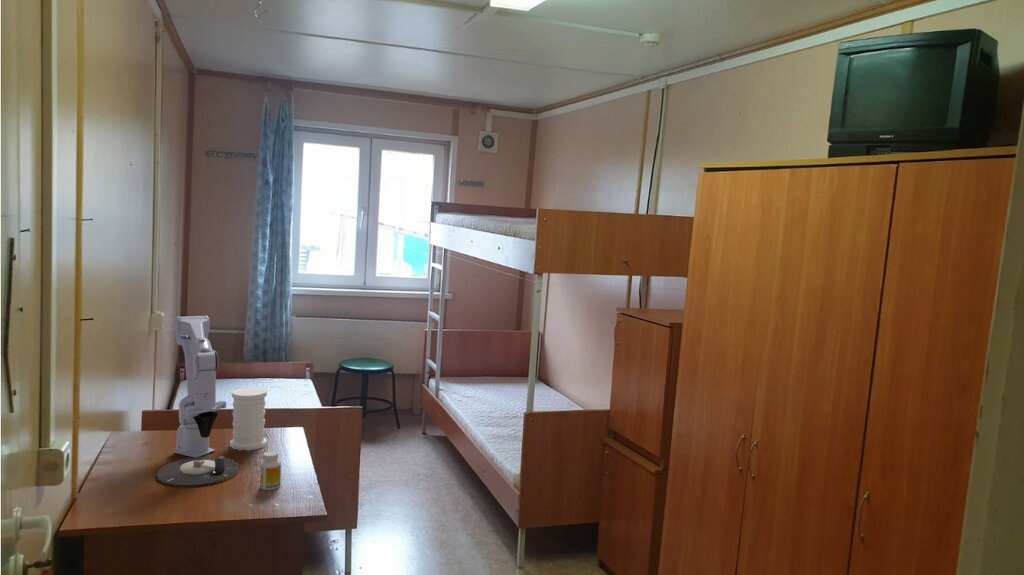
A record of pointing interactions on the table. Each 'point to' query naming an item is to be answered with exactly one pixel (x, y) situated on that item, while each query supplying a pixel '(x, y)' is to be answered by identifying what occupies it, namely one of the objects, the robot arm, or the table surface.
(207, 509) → the table surface
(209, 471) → the dial
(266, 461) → the supplement bottle
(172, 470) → the dial plate
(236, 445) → the decorative container
